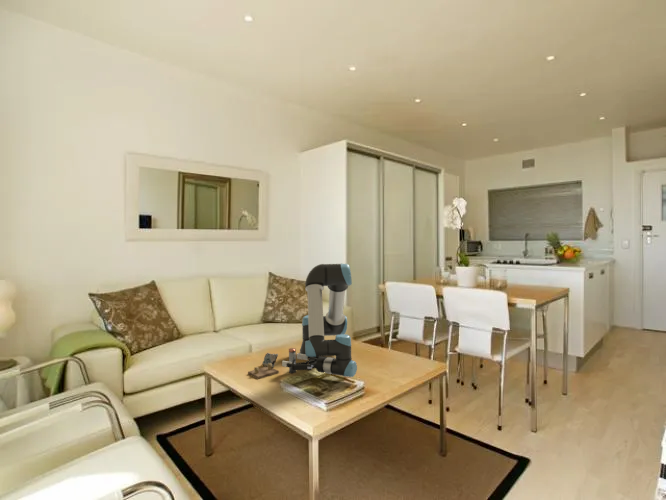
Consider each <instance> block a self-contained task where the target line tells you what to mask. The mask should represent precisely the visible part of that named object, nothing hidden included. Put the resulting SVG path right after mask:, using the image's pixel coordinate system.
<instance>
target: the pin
mask: <svg viewBox="0 0 666 500" xmlns="http://www.w3.org/2000/svg"><path fill="white" fill-rule="evenodd" d="M296 351H297V348H296V347H291V348H288V361H289V362H294V363H297V353H296ZM288 371H289V373H290V374H295V373H297V370H291V368H289V367H288Z"/></svg>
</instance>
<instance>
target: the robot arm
mask: <svg viewBox="0 0 666 500" xmlns="http://www.w3.org/2000/svg"><path fill="white" fill-rule="evenodd" d="M352 283H353V282H352V272H351V266H350V265H349V263H326V264H325V263H321V264H318V265H316V266H314V267H313V268H312V269H311V270H310V271H309V273H308V274H307V276H306V279H305V283H304V285H305V286H304V288H305V292H306V293H307V315H304V316H303V317H302V319H301V321H302V323H301V326H302V342H301V345H300V349H299V353H298V352H297V353H296V360H302V361H303V360H304V361H303V362H296V363H294V362H289V360H287V361H286V360H282V361H281V366H282V367H283V368H288V369H289V368H291V370H296V371H312V370H313V369H316V372H318V373H322V374H323V373H324V372H325V373H324V374H328V375H331V374H332V375H335V376H341V377H347V378H354V377H355V375H356V374H357V370H358V364H357V362H356V361H355V360H352V359H353V358H352V340H351V339H352V338H351V336H350V335H349V334H347V330H348V317H347V316H346V315H345V314H344V306H345V305H344V304H345V293H346V291H347V289H348V288H349V286H352ZM325 287H327V289H328V290H329V294H328V296H329V297H328V311H327V313H326V315H324V307H323V306H324V305H323V291H324V288H325ZM325 336H327V337H329V336H331V337H332V336H335V338H334V339H325ZM330 356H332V357H330Z"/></svg>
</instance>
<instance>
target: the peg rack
mask: <svg viewBox="0 0 666 500" xmlns="http://www.w3.org/2000/svg"><path fill="white" fill-rule="evenodd" d="M253 369H254V370H253ZM253 369H252V370H249V371H247V375H249V374H250V375H249V376H251V375H252V376H251V377H253V376H254V377H253V378H256V379H257V380H261V379H264V378H267V377H269V376H274V375H276V374H279V372H280V371H279V370H278V369H276V368H274V367H272V364H271V363H269V364H268V366H263V367H261V368H259V366H255V367H254V368H253Z"/></svg>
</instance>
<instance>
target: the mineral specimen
mask: <svg viewBox="0 0 666 500" xmlns="http://www.w3.org/2000/svg"><path fill="white" fill-rule="evenodd" d="M278 357H279V354H278V353H270V352H266V353H265V355H264V357H263V361H262V363H261V364H262V365H263V367H267V366H268V364H269V363H271V364H272V368H274V367H275V365H276V362H277V359H278Z"/></svg>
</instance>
